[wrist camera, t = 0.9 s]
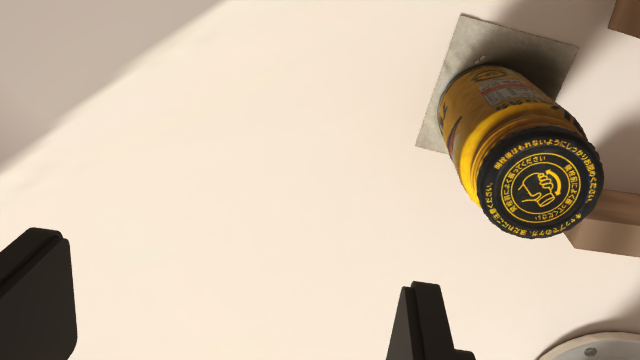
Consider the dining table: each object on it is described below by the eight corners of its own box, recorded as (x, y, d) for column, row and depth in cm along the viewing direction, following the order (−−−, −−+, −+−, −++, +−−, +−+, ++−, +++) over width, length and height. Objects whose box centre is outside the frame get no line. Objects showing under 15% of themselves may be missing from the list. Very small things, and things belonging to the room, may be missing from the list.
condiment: (414, 145, 35) (438, 235, 24) (459, 14, 31) (511, 50, 20) (521, 172, 35) (593, 275, 24) (577, 46, 32) (691, 98, 21)
